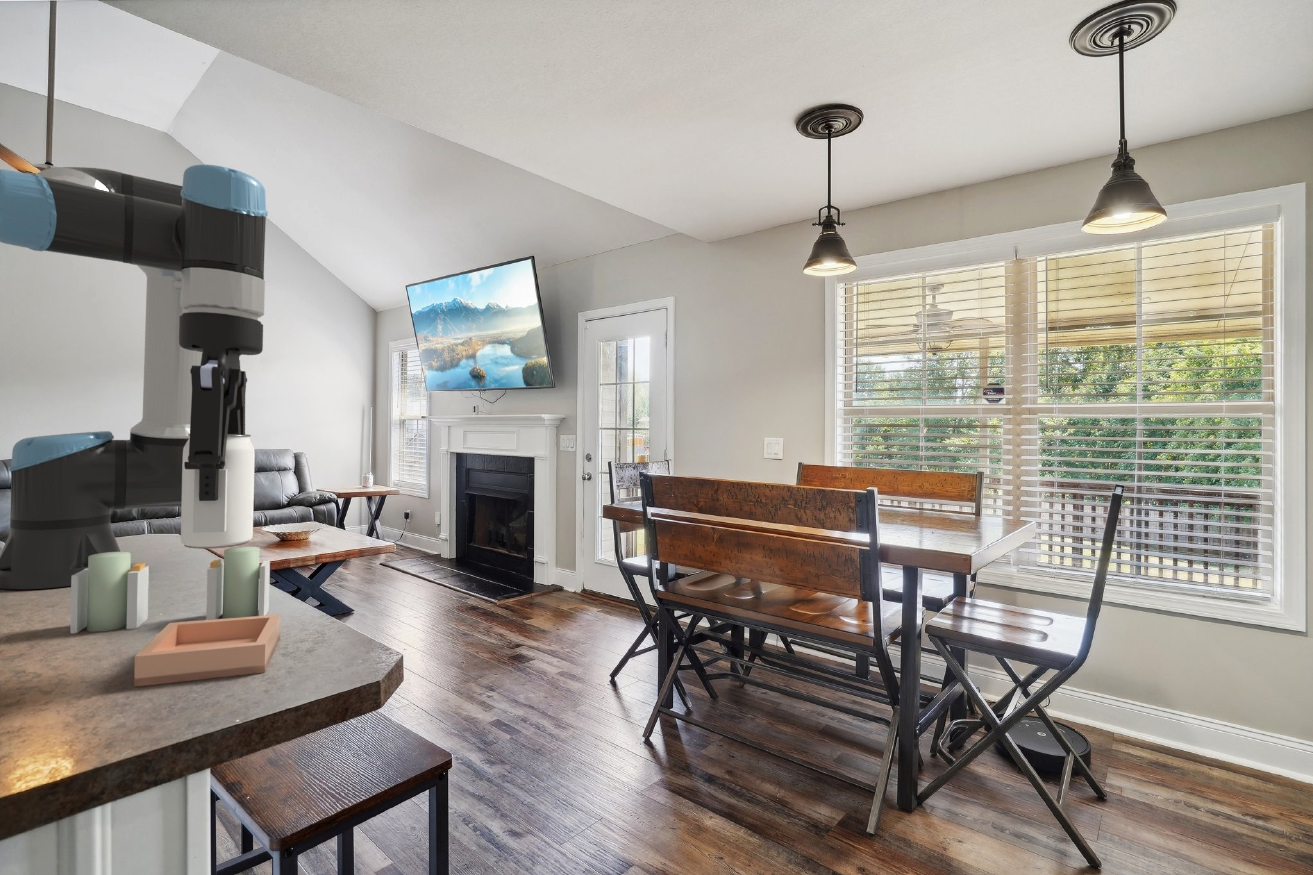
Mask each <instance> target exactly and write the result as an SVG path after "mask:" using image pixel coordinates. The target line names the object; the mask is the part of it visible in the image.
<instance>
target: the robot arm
mask: <svg viewBox="0 0 1313 875" xmlns="http://www.w3.org/2000/svg"><path fill="white" fill-rule="evenodd" d="M182 176H183V177H182V185H178V184H175V183H169V182H164V181H161V180H156V179H151V178H146V177H141V176H137V175H132V174H127V173H123V172H121V171H115V170H111V169H107V168H97V167H84V166H83V167H81V166H79V167H77V166H63V167H62V166H60V167H50V168H47V169H43V170H41V171H39V172H37V173H33V172H21V171H14V170H10V169H9V170H8V169H1V168H0V243H2V244H5V245H6V244H7V245H11V246H16V247H21V248H27V249H29V250H32V251H35V252H36V251H37V252H43V251H44V252H50V253H56V254H57V253H58V254H63V255H70V256H71V255H72V256H77V257H85V258H92V259H99V260H107V261H114V262H120V263H124V264H130V265H134V266H137V267H138V268H139V269H140V270H141V271H142V272H143V273H144V274H145V276H146V293H145V295H146V296H145V298H146V299H145V301H146V302H145V330H144V331H145V332H144V356H143V357H144V359H143V360H144V361H143V392H142V393H143V394H142V419H141V421H139V422H137V423H136V424H135V425H133V426H132V427H130V430H129V432H130V433H129V439H114V438H115V436H114V435H113V433H112V431H109V430H108V431H107V430H105V431H103V430H101V431H85V432H75V433H74V432H73V433H62V434H51V435H39V436H30V437H25V438H23V439H20V440H17V442H16V443H15V444H14V446H12V447H13V448H12V453H11V463H10V464H11V465H10V467H9V468H8V471H9V472H11V480H10V482H11V485H10V486H11V487H10V512H9V513H10V519H9V520H10V521H9V534H8V537H7V539H6V541H5V544H4V546H3V547H2V550H1V552H0V589H5V590H39V589H40V590H41V589H54V588H61V587H62V588H63V587H71V576H72V575H74V574H76V573H78V572H80V571H82V570H84V569H88V557H89V556H90V555H94V554H99V553H107V552H122V551H121V549H120V547H119V545H118V544H119V543H118V542H117V539H116V536H115V534H114V531H113V530H112V525H111V524H112V520H111V515H112V511H113V510H115V511H117V510H134V509H139V510H140V509H155V508H156V509H157V508H179V509H181V505H182V464H183V448H184V446H185V444H186V443H187V441H188V439H189V435H188V434H190V442H189V456H188V462H184V466H185V469H195V471H194V517H193V533H198V532H225V531H226V512H227V469H224V466H225V453H226V443H227V434H246V391H247V389H246V388H247V383H248V378H247V374H246V371H245V370H241V360H240V357H241V356H242V355H244V356H257V355H259V354H261V353H262V352H263V348H264V324H263V323H262V322H261V321H260V320H259V318H261V317H263V316H264V315H265V291H266V290H265V289H266V285H265V283H266V281H265V251H266V250H265V248H266V241H265V240H266V222H267V221H266V220H267V217H268V212H269V211H267V206H266V189H265V187H264V185H263V184H262V183H261V181H259V180H258V179H257V178H255V177H254V176H252V175H250V174H248V173H245V172H243V171H241V170H237V169H234V168H229V167H226V166H221V165H214V164H195V165H191V166H189V167H186V169H185V170H184V172H183V174H182Z"/></svg>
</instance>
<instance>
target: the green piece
mask: <svg viewBox="0 0 1313 875" xmlns="http://www.w3.org/2000/svg"><path fill="white" fill-rule="evenodd" d="M260 550H261V548H260V547H258V546H257V547H256V546H235V547H228V548H226V549H224V551H223V562H224V573H223V612H222V615H221V616H222V617H221V619H227V618H240V617H253V616H259V581H260V554H261V553H260V552H261V551H260Z"/></svg>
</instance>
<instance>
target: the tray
mask: <svg viewBox="0 0 1313 875" xmlns="http://www.w3.org/2000/svg"><path fill="white" fill-rule="evenodd" d="M281 616H282V614H281V613H279V614H269V615H268V614H266V615H265V616H259V615H257V616H253V617H240V618H227V619H222V618H218V619H214V620H206V619H203V620H191V621H189V620H188V621H178V622H169V623H168V624H167V625H166V626H165V627H163V629H161V631H159V633H158V634H157V635H155V636H154V638H153V639H151V640H150V641H149V642H148V643H147V644H146V645H144V646H143V648H142V649H141V650H140V651H139V652H138V653H137V654H136V655H135V656H134V674H133V675H134V677H133V678H134V680H133V682H134V684H133V685H134V686H133V687H136V688H137V687H145V686H154V685H162V684H174V683H179V682H180V683H181V682H189V681H190V682H191V681H200V680H209V679H216V678H217V679H218V678H226V677H236V676H245V675H253V674H262V673H266V671H267V668H268V666H269V665H270V663H271V662H270V661H271V659H272V657H273V655H274V653H275V651H276V648H277V646H278V644H279V643H280V641H281V618H282V617H281Z"/></svg>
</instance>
